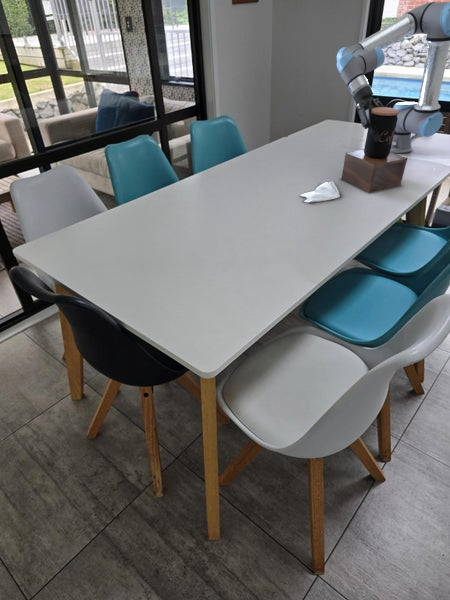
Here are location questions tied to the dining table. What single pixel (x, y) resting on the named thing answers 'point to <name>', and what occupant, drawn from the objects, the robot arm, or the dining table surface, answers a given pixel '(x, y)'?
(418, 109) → the robot arm
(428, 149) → the dining table surface
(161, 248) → the dining table surface
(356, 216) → the dining table surface
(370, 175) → the dark wooden box
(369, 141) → the coffee jar
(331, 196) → the cloth
